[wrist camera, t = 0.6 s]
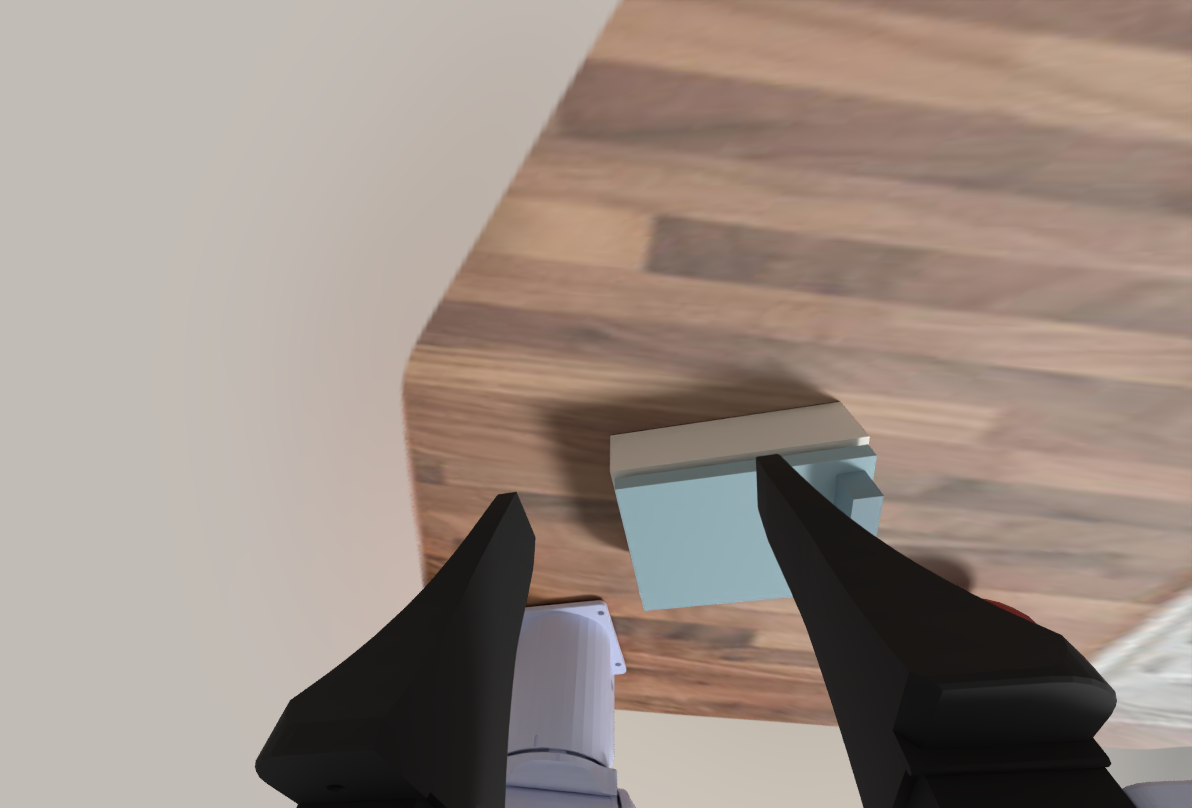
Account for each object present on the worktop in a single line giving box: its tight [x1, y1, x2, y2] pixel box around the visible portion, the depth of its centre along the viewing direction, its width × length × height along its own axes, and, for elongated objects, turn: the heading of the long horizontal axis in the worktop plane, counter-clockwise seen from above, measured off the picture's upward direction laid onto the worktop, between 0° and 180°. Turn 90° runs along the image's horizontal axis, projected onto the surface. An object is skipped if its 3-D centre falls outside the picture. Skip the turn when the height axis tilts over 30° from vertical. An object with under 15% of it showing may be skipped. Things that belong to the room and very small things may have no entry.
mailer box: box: [610, 402, 870, 596], centre depth 25 cm, size 10×12×3 cm
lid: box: [615, 444, 884, 611], centre depth 22 cm, size 10×12×2 cm
